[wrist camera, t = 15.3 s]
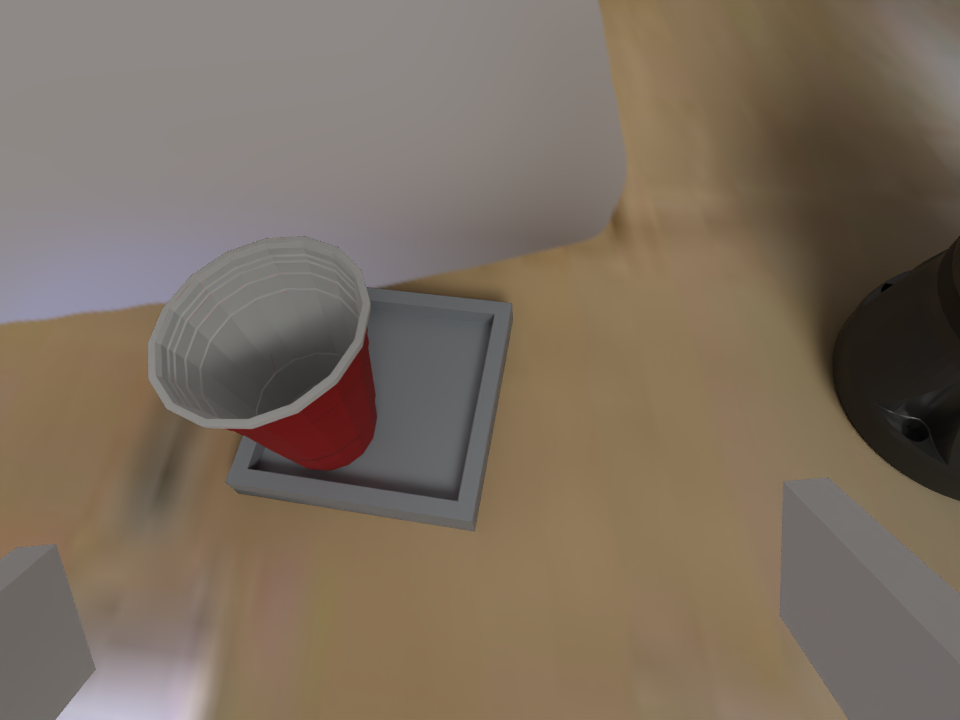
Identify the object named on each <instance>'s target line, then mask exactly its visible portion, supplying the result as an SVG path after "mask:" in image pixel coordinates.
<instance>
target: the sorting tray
mask: <svg viewBox="0 0 960 720" xmlns="http://www.w3.org/2000/svg"><path fill="white" fill-rule="evenodd" d="M366 288H367V292H368V296H369V299H370V304H371V310H370V315H369V320H368V324H367V327H368V332H367V335H368V339H369V346H368V349H369V355H370V362H371V368H372V374H373V381H374V387H375V394H376V397H375V405H376V412H377V421H376V426H375V432H374V437H373V439H372V441H371V443H370V444H369V446H368V447H367V449H366V450H365V452H364V454H362V455H361V456H360V457H358V458H357V459H356V460H354V461H353V462H352V463H350V464H349V465H347V466H344V467H341V468H338V469H335V470H332V471H324V470H312V469H307V468H305V467H303V466H301V465H299V464H297V463H295V462H293V461H291V460H289V459H287V458H285V457H283V456H281V455H279V454H277V453H275V452H273V451H271V450H269V449H267V448H266V447H264V446H262V445H260V444H258V443H257V442H255V441H253V440H251V439H249V438H248V437H246V436H244V435H243V437H242V440H241V442H240V445H239V448H238V450H237V453H236V456H235V458H234V461H233V463H232V466H231V469H230V471H229V474H228V477H227V479H226V482H225V483H226V484H228V485H229V486H230V487H231V488H233V489H234V490H235V491H236V492H238V493H240V494H246V495H252V496H258V497H265V498H271V499H277V500H283V501H290V502H296V503H302V504H308V505H314V506H321V507H327V508H333V509H339V510H346V511H352V512H358V513H364V514H370V515H377V516H383V517H389V518H395V519H401V520H408V521H414V522H420V523H426V524H433V525H439V526H445V527H451V528H457V529H464V530H470V531H475V527H476V521H477V516H478V510H479V505H480V499H481V494H482V488H483V483H484V477H485V471H486V466H487V460H488V455H489V449H490V444H491V438H492V433H493V427H494V421H495V416H496V410H497V405H498V399H499V394H500V388H501V383H502V377H503V372H504V366H505V360H506V355H507V349H508V344H509V338H510V333H511V327H512V322H513V312H512V303H506V302H497V301H487V300H478V299H469V298H460V297H451V296H441V295H432V294H423V293H414V292H405V291H396V290H386V289H377V288H368V287H366Z"/></svg>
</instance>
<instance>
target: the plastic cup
mask: <svg viewBox="0 0 960 720" xmlns="http://www.w3.org/2000/svg"><path fill="white" fill-rule="evenodd" d="M370 310H371V304H370V299H369V296H368V292H367V288H366V285H365V281H364V277H363V274H362V270H361V269H360V268H359V267H358V266H357V265H356V264H355V263H354V262H353V261H352V260H351V259H350V258H349V257H348V256H347V255H346V254H345V253H344V252H343V251H342V250H341V249H340V248H339V247H336V246H333V245H330V244H327V243H324V242H321V241H318V240H314V239H311V238H308V237H305V236H303V237H280V238H265V239H262V240H259V241H256V242H253V243H251V244H248V245H245V246H242V247H239V248H236V249H233V250H230V251H227V252H226V253H224V254H223V255H221V256H220V257H218V258H217V259H215V260H214V261H212V262H211V263H209V264H208V265H206V266H205V267H203V268H202V269H200V270H199V271H197V272H196V273H194V274H193V275H191V276H190V277H189V278H188V280H187V281H186V282H185V283H184V284H183V285H182V287H181V288H180V289H179V290H178V291H177V292H176V293H175V294H174V296H173V297H172V298H171V299H170V300H169V301H168V302H167V304H166V305H165V306H164V307H163V309H162V312H161V314H160V316H159V319H158V321H157V323H156V326H155V328H154V331H153V333H152V335H151V338H150V340H149V342H148V375H149V381H150V383H151V384H152V386H153V387H154V389H155V391H156V392H157V394H158V396H159V397H160V399H161V400H162V402H163V404H164V405H165V407H166V408H167V409H168V410H170V411H172V412H174V413H176V414H178V415H180V416H182V417H184V418H186V419H188V420H190V421H192V422H194V423H196V424H198V425H200V426H202V427H205V428H222V429H228V430H230V431H235V432H237V433H239V434H241V435H244V436H246V437H248V438H249V439H251V440H253V441H255V442H257V443H258V444H260V445H262V446H264V447H266V448H267V449H269V450H271V451H273V452H275V453H277V454H279V455H281V456H283V457H285V458H287V459H289V460H291V461H293V462H295V463H297V464H299V465H301V466H303V467H305V468H307V469H312V470H324V471H332V470H335V469H338V468H341V467H344V466H347V465H349V464H350V463H352V462H353V461H354V460H356V459H357V458H358V457H360V456H361V455H362V454H364V452H365V450H366V449H367V447H368V446H369V444H370V443H371V441H372V439H373V437H374V432H375V426H376V421H377V412H376V405H375V397H376V394H375V387H374V381H373V374H372V368H371V362H370V355H369V349H368V346H369V339H368V335H367V332H368V327H367V324H368V320H369V315H370Z"/></svg>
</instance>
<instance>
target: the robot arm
mask: <svg viewBox="0 0 960 720" xmlns="http://www.w3.org/2000/svg"><path fill="white" fill-rule="evenodd" d="M833 373H834V380H835V384H836V389H837V392H838V395H839V398H840V400H841V403H842V405H843V407H844V409H845V411H846V413H847V415H848V416H849V418H850V420H851V421H852V423H853V424H854V426H855V427H856V429H857V430H858V431H859V433H860V434H861V435H862V437H863V438H864V439H865V440H866V441H867V442H868V444H869V445H870V446H871V447H872V448H873V449H874V450H875V451H876V452H877V453H878V454H879V455H880V456H882V457H883V458H884V459H885V460H886V461H887V462H888V463H890V464H891V465H892V466H893V467H895V468H896V469H898V470H899V471H900V472H902V473H903V474H905V475H906V476H908V477H909V478H911V479H912V480H914V481H916V482H918V483H919V484H921V485H923V486H925V487H927V488H929V489H931V490H933V491H935V492H938V493H940V494H942V495H945V496H947V497H950V498H953V499H956V500H959V501H960V236H959V237H958V239H957V240H956V241H955V242H954V243H953V244H952V245H951V247H950V248H949V249H947V250H945V251H943V252H941V253H939V254H937V255H936V256H934V257H932V258H930V259H928V260H926V261H925V262H923V263H921V264H920V265H918V266H917V267H915V268H914V269H913V270H911V271H908V272H905V273H902V274H900V275H898V276H896V277H894V278H892V279H890V280H888V281H886V282H885V283H883V284H881V285H880V286H879V287H877V288H876V289H875V290H873V291H872V292H871V293H870V294H869V295H868V296H867V297H866V298H865V299H864V300H863V301H862V302H861V303H860V304H859V306H858V307H857V308H856V309H855V311H854V312H853V313H852V315H851V316H850V317H849V318H848V320H847V321H846V322H845V324H844V325H843V327H842V329H841V331H840V333H839V335H838V338H837V341H836V344H835V348H834V354H833ZM780 617H781V618H782V620H783V621H784V623H785V624H786V626H787V627H788V629H789V630H790V632H791V633H792V635H793V637H794V638H795V640H796V641H797V643H798V644H799V646H800V647H801V649H802V650H803V652H804V653H805V655H806V656H807V658H808V659H809V661H810V662H811V664H812V665H813V667H814V668H815V670H816V671H817V673H818V674H819V676H820V677H821V679H822V680H823V682H824V683H825V685H826V686H827V688H828V689H829V691H830V692H831V694H832V695H833V697H834V698H835V700H836V701H837V703H838V704H839V706H840V707H841V709H842V710H843V712H844V713H845V715H846V716H847V718H848V719H849V720H960V594H959V593H957V592H956V591H955V590H954V589H953V588H952V587H951V586H950V585H948V584H947V583H946V582H945V581H944V580H943V579H942V578H941V577H939V576H938V575H937V574H936V573H935V572H934V571H933V570H931V569H930V568H929V567H928V566H927V565H926V564H925V563H924V562H922V561H921V560H920V559H919V558H918V557H917V556H916V555H915V554H913V553H912V552H911V551H910V550H909V549H908V548H907V547H906V546H904V545H903V544H902V543H901V542H900V541H899V540H898V539H896V538H895V537H894V536H893V535H892V534H891V533H890V532H889V531H887V530H886V529H885V528H884V527H883V526H882V525H881V524H880V523H878V522H877V521H876V520H875V519H874V518H873V517H872V516H871V515H869V514H868V513H867V512H866V511H865V510H864V509H863V508H861V507H860V506H859V505H858V504H857V503H856V502H855V501H854V500H852V499H851V498H850V497H849V496H848V495H847V494H846V493H845V492H843V491H842V490H841V489H840V488H839V487H838V486H837V485H836V484H834V483H833V482H832V481H831V480H830V479H829V478H817V479H806V480H794V481H783V508H782V546H781V585H780ZM95 669H96V668H95V665H94V662H93V659H92V656H91V653H90V649H89V646H88V643H87V640H86V637H85V634H84V630H83V627H82V624H81V621H80V618H79V615H78V611H77V608H76V605H75V602H74V599H73V596H72V592H71V589H70V586H69V583H68V580H67V577H66V573H65V570H64V567H63V564H62V561H61V558H60V555H59V551H58V548H57V545H56V544H53V545H41V546H30V547H18V548H15V549H14V550H12V551H11V552H10V553H8V554H7V555H6V556H5V557H3V558H2V559H1V560H0V720H55V719H56V718H57V717H58V716H59V714H60V713H61V712H62V711H63V709H64V708H65V707H66V706H67V704H68V703H69V702H70V701H71V699H72V698H73V697H74V696H75V694H76V693H77V692H78V691H79V689H80V688H81V687H82V686H83V684H84V683H85V682H86V681H87V679H88V678H89V677H90V676H91V674H92V673H93V672H94V671H95Z"/></svg>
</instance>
